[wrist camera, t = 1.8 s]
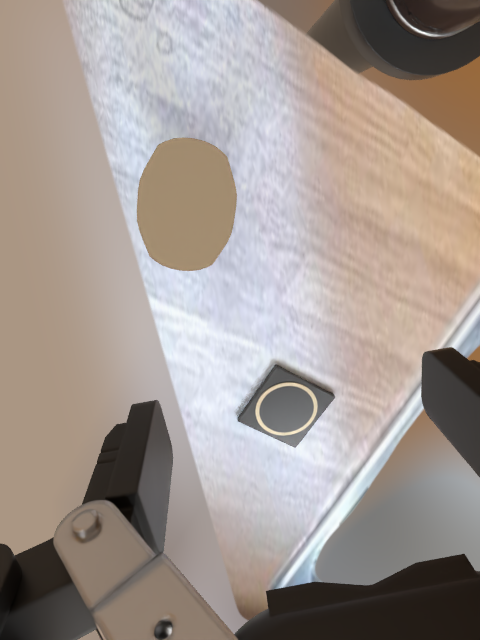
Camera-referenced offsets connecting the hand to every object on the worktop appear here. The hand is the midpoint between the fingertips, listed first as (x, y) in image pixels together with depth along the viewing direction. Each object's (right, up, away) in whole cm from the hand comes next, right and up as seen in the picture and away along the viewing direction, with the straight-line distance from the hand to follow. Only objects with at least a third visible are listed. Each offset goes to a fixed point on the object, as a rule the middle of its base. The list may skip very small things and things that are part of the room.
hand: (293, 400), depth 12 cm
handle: (-6, +14, +22) cm, 26 cm away
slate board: (+3, -7, +31) cm, 32 cm away
